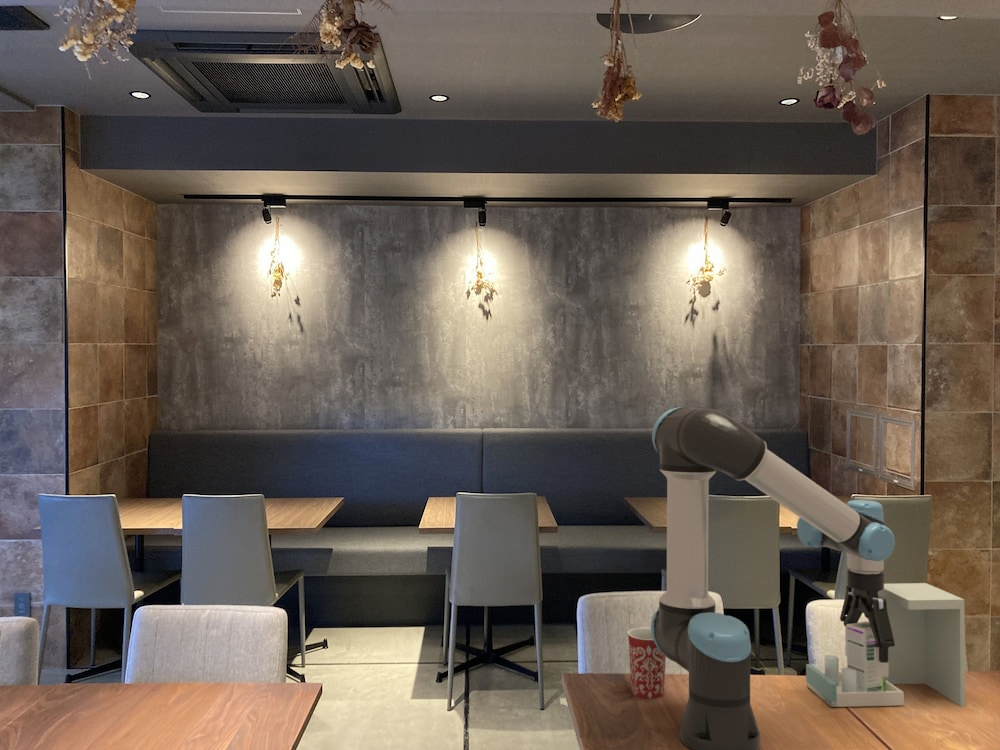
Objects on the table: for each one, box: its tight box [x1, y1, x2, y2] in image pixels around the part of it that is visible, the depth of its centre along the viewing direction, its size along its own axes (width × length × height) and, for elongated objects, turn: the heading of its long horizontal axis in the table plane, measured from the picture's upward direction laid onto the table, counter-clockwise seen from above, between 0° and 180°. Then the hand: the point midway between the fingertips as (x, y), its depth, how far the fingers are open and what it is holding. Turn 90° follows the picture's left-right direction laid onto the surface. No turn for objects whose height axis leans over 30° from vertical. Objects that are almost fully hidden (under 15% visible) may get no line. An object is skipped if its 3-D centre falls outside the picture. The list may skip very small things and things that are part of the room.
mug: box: [627, 627, 667, 699], centre depth 192 cm, size 13×9×14 cm
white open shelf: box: [878, 582, 966, 707], centre depth 189 cm, size 12×15×23 cm
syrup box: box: [845, 621, 886, 692], centre depth 188 cm, size 6×6×14 cm
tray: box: [805, 654, 905, 708], centre depth 188 cm, size 16×13×7 cm
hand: (866, 665), depth 188 cm, fingers open, 13 cm apart
